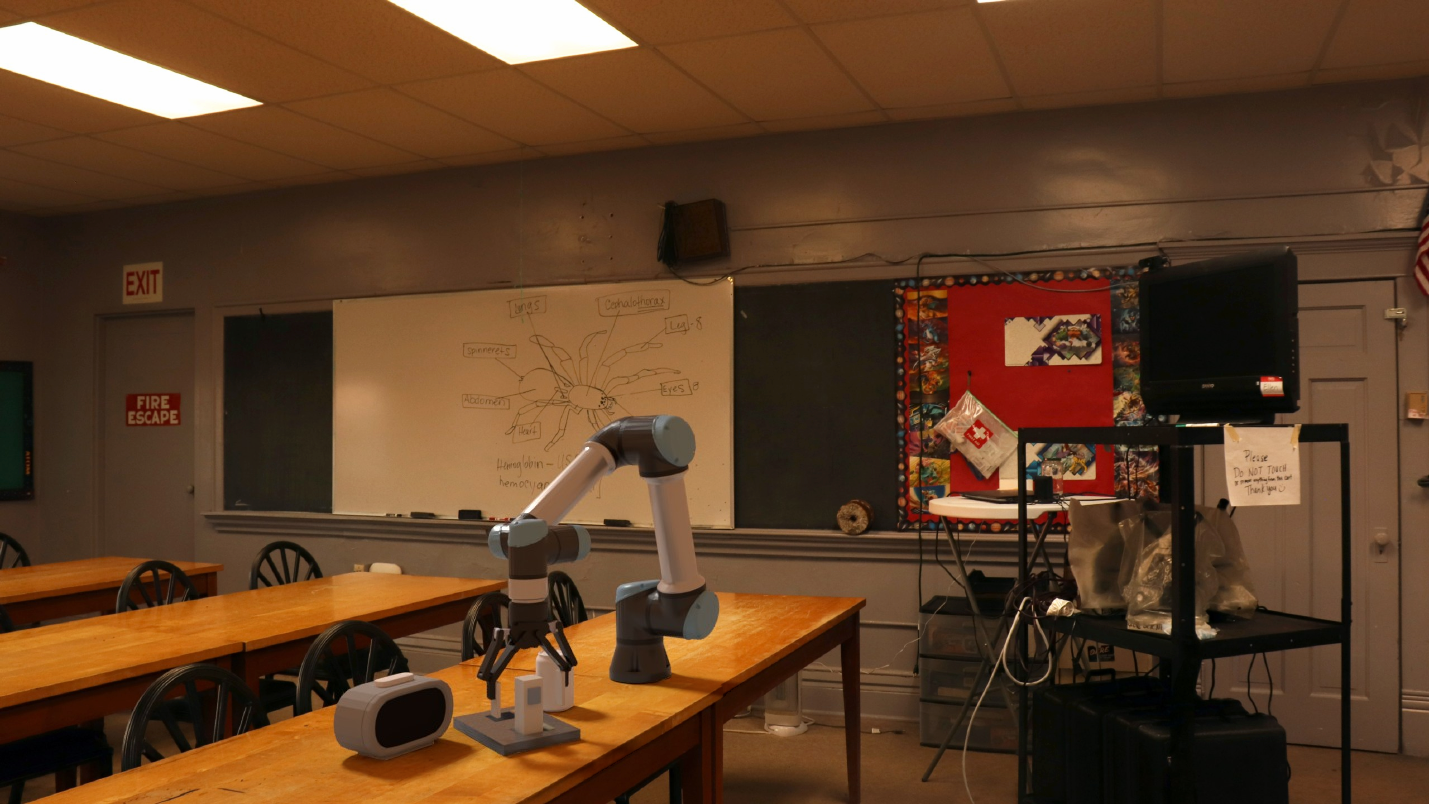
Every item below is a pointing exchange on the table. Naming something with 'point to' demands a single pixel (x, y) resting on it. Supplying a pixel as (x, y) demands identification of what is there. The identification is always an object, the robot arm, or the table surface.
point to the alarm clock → (393, 715)
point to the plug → (528, 704)
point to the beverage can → (553, 683)
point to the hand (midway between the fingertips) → (528, 710)
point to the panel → (504, 737)
